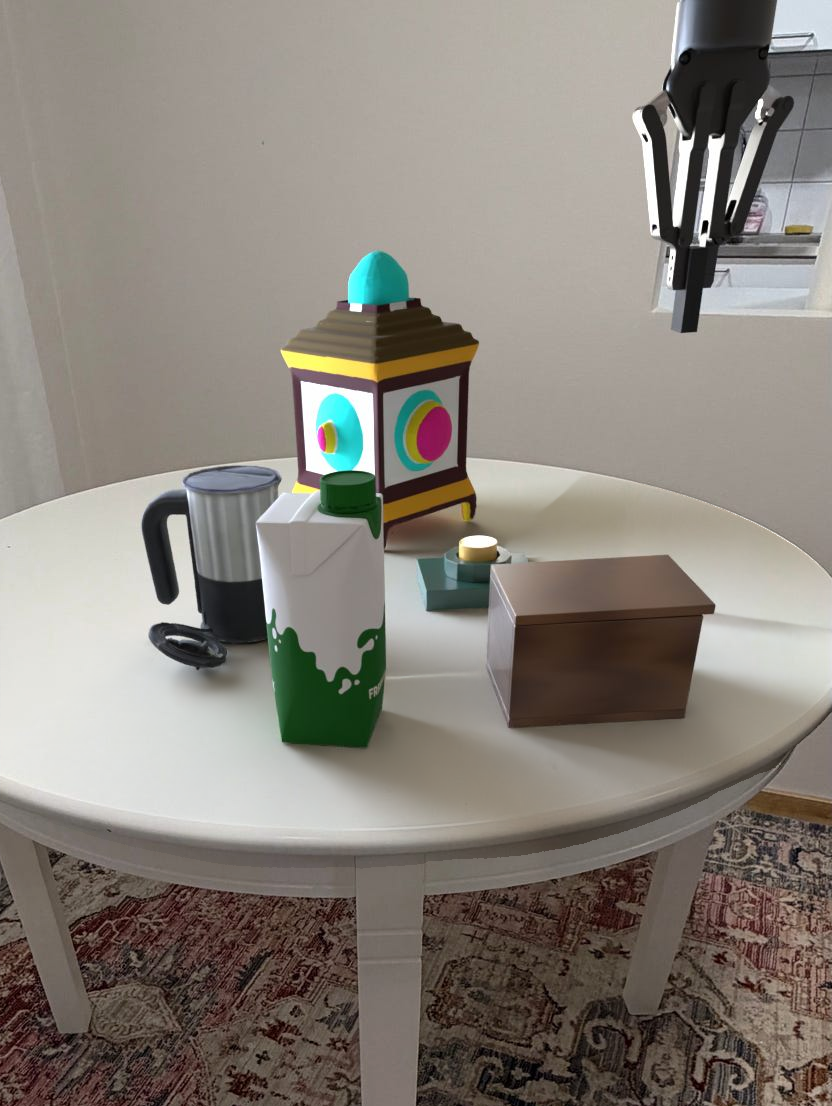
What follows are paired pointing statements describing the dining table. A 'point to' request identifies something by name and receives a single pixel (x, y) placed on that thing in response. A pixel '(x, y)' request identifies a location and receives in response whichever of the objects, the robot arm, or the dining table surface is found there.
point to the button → (478, 548)
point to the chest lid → (598, 590)
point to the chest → (590, 667)
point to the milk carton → (326, 609)
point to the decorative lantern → (385, 396)
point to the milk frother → (212, 559)
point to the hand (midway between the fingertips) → (683, 330)
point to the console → (459, 580)
